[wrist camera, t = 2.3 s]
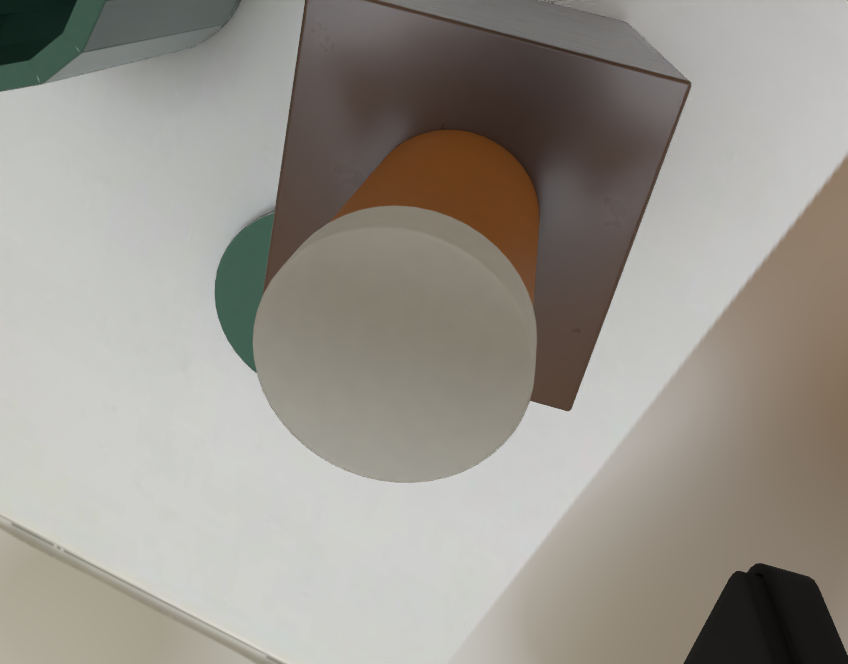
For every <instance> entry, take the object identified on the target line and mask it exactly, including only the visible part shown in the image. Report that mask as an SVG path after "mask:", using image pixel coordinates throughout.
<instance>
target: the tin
mask: <svg viewBox="0 0 848 664" xmlns="http://www.w3.org/2000/svg"><path fill="white" fill-rule="evenodd" d="M239 3H240V0H0V92H1V91H7V90H13V89H19V88H24V87H30V86H36V85H42V84H46V83H50V82H54V81H58V80H62V79H66V78H70V77H74V76H78V75H82V74H87V73H91V72H95V71H99V70H103V69H107V68H111V67H115V66H119V65H123V64H127V63H132V62H136V61H140V60H144V59H148V58H152V57H156V56H160V55H164V54H168V53H172V52H177V51H181V50H185V49H189V48H192V47H195V46H196V45H197V44H199V43H201V42H203V41H204V40H206V39H208V38H209V37H211V36H212V35H214V34H215V33H216V32H217V31H218V30H219V29H221V28H222V27H223V26H224V25H225V23H226V22H227V21H228V20H229V19H230V17H231V16H232V15H233V13H234V11H235V10H236V8H237V7H238V5H239Z"/></svg>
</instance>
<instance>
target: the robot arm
mask: <svg viewBox="0 0 848 664" xmlns="http://www.w3.org/2000/svg"><path fill="white" fill-rule="evenodd" d="M684 664H848V655H847V653H846V651H845V648H844V646H843V644H842V641H841V639H840V637H839V634H838V632H837V630H836V627H835V625H834V623H833V620H832V618H831V616H830V613H829V611H828V609H827V606H826V604H825V602H824V599H823V597H822V594H821V592H820V590H819V588H818V586H817V584H816V583H815V581H814V580H813V579H811V578H810V577H808V576H804V575H801V574H797V573H794V572H790V571H787V570H783V569H780V568H776V567H773V566H769V565H765V564H762V563H759V564H755V565H754V566H752V567H751V568H750V569H749V571H748V572H747V573H745V572H742V571H736V572H735V573H734V574H732V576H731V577H730V579H729V580H728V582H727V584H726V586H725V588H724V589H723V591H722V593H721V595H720V597H719V599H718V600H717V602H716V604H715V606H714V608H713V610H712V612H711V614H710V615H709V617H708V619H707V621H706V623H705V625H704V627H703V628H702V630H701V632H700V634H699V636H698V638H697V639H696V642H695V643H694V645H693V647H692V649H691V651H690V653H689V654H688V656H687V658H686V660H685V662H684Z"/></svg>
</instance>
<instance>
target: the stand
mask: <svg viewBox="0 0 848 664" xmlns="http://www.w3.org/2000/svg"><path fill="white" fill-rule="evenodd" d="M690 89H691V82H690V81H689V80H688V79H687V78H685V77H684V76H683V75H682V74H681V73H680V72H679V71H678V70H677V69H676V68H675V67H674V66H673V65H672V64H671V63H670V62H668V61H667V60H666V59H665V58H664V57H663V56H662V55H661V54H660V53H659V52H658V51H657V50H656V49H655V48H654V47H652V46H651V45H650V44H649V43H648V42H647V41H646V40H645V39H644V38H643V37H642V36H641V35H640V34H639V33H638V32H637V31H635V30H634V29H633V28H632V27H631V26H630V25H629V24H628V23H626V22H622V21H619V20H615V19H611V18H607V17H603V16H599V15H595V14H591V13H588V12H584V11H580V10H576V9H572V8H568V7H564V6H560V5H557V4H553V3H549V2H545V1H541V0H305V6H304V13H303V20H302V27H301V34H300V41H299V47H298V54H297V61H296V68H295V75H294V82H293V89H292V96H291V102H290V109H289V116H288V123H287V130H286V137H285V144H284V151H283V157H282V164H281V171H280V178H279V185H278V192H277V199H276V206H275V212H274V219H273V226H272V233H271V240H270V247H269V254H268V261H267V267H266V274H265V281H264V288H263V294H264V292H265V290H266V289H267V287H268V285H269V283H270V282H271V280H272V279H273V277H274V276H275V275H276V274H277V272H278V271H279V270H280V268H281V267H282V266H283V265H284V264H285V263H286V262H287V260H288V259H289V258H290V257H291V256H292V255H293V254H294V253H295V252H296V250H297V249H298V248H299V247H300V246H301V245H302V244H303V243H304V242H305V241H306V240H307V239H308V238H309V237H310V236H311V235H312V234H313V233H315V232H316V231H317V230H319V229H320V228H322V227H323V226H325V225H326V224H328V223H329V222H330V221H331V220H332V218H333V217H334V216H335V215H336V214H337V213H338V212H339V210H340V209H341V208H342V207H343V206H344V205H345V203H346V202H347V201H348V200H349V199H350V198H351V197H352V195H353V194H354V193H355V192H356V191H357V190H358V188H359V187H360V186H361V185H362V184H363V183H364V182H365V180H366V179H367V178H368V177H369V176H370V175H371V174H372V172H373V171H374V170H375V169H376V168H377V167H378V165H379V164H380V163H381V162H382V161H383V160H384V159H385V157H386V156H387V155H388V154H389V153H391V152H392V151H393V150H394V149H395V148H396V147H398V146H399V145H401V144H402V143H403V142H405V141H407V140H409V139H411V138H413V137H415V136H418V135H421V134H423V133H427V132H432V131H437V130H462V131H467V132H472V133H475V134H478V135H481V136H484V137H486V138H488V139H490V140H492V141H494V142H496V143H497V144H499V145H500V146H502V147H503V148H505V149H506V150H507V151H508V152H509V153H511V154H512V155H513V156H514V157H515V158H516V159H517V161H518V162H519V163H520V164H521V165H522V167H523V168H524V170H525V171H526V173H527V174H528V176H529V178H530V180H531V182H532V184H533V186H534V189H535V192H536V195H537V200H538V205H539V218H540V221H539V235H538V249H537V262H536V276H535V290H534V304H533V309H534V315H535V320H536V330H537V347H536V365H535V377H534V386H533V390H532V394H531V398H530V401H533V402H536V403H540V404H544V405H547V406H551V407H554V408H558V409H562V410H565V411H570V410H571V409H572V406H573V403H574V400H575V398H576V395H577V392H578V390H579V387H580V384H581V382H582V379H583V376H584V374H585V371H586V368H587V366H588V363H589V360H590V357H591V355H592V352H593V349H594V347H595V344H596V341H597V339H598V336H599V333H600V331H601V328H602V325H603V323H604V320H605V317H606V314H607V312H608V309H609V306H610V304H611V301H612V298H613V296H614V293H615V290H616V288H617V285H618V282H619V279H620V277H621V274H622V271H623V269H624V266H625V263H626V261H627V258H628V255H629V253H630V250H631V247H632V245H633V242H634V239H635V236H636V234H637V231H638V228H639V226H640V223H641V220H642V218H643V215H644V212H645V210H646V207H647V204H648V202H649V199H650V196H651V193H652V191H653V188H654V185H655V183H656V180H657V177H658V175H659V172H660V169H661V167H662V164H663V161H664V159H665V156H666V153H667V150H668V148H669V145H670V142H671V140H672V137H673V134H674V132H675V129H676V126H677V124H678V121H679V118H680V116H681V113H682V110H683V107H684V105H685V102H686V99H687V97H688V94H689V91H690ZM262 296H263V295H262Z"/></svg>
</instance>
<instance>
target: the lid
mask: <svg viewBox="0 0 848 664" xmlns="http://www.w3.org/2000/svg"><path fill="white" fill-rule="evenodd" d="M274 212H275V211H274ZM274 212H271V213H268V214H266V215H264V216H262V217H260V218H258V219H256V220H255V221H253V222H252V223H251V224H249V225H248V226H246V227H245V228H244V229H243V230H242V231H241V232H240V233H239V234H238V235H237V236H236V237H235V238H234V239H233V240H232V242H231V243H230V244H229V246H228V247H227V249H226V251H225V253H224V254H223V256H222V258H221V261H220V264H219V267H218V270H217V275H216V280H215V303H216V309H217V314H218V318H219V321H220V324H221V326H222V329H223V331H224V333H225V335H226V337H227V339H228V341H229V343H230V344H231V346H232V347H233V349H234V350H235V352H236V353H237V354H238V355H239V356H240V358H241V359H242V360H243V361H244V362H245V363H246V364H247V365H248V366H249V367H250V368H251V369H252V370H253V371H254V372H256V373H257V371H256V366H255V361H254V352H253V331H254V323H255V318H256V314H257V309H258V307H259V304H260V302H261V299H262V295H263V288H264V281H265V274H266V267H267V261H268V254H269V247H270V240H271V233H272V226H273V219H274Z"/></svg>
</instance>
